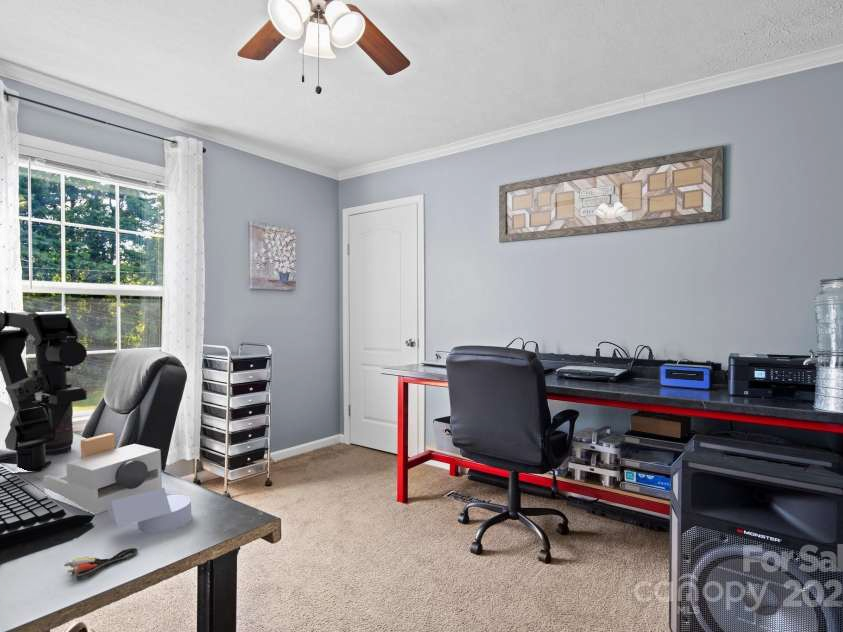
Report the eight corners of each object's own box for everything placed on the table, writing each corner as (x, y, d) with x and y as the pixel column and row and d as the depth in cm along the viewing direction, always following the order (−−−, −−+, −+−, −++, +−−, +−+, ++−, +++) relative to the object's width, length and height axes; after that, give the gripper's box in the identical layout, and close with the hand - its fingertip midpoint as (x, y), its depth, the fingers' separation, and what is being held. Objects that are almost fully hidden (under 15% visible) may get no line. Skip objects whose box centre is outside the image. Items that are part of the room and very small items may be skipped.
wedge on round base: (118, 547, 82) (197, 521, 90) (116, 508, 81) (196, 487, 90) (108, 528, 88) (183, 507, 97) (106, 493, 88) (182, 474, 97)
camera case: (44, 496, 104) (42, 455, 103) (111, 474, 116) (110, 438, 116) (100, 517, 93) (98, 471, 93) (167, 490, 105) (165, 450, 105)
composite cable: (136, 551, 81) (135, 537, 81) (141, 563, 77) (141, 548, 77) (64, 574, 74) (63, 558, 74) (66, 587, 71) (65, 571, 71)
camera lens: (54, 457, 129) (52, 403, 129) (30, 456, 131) (28, 402, 131) (81, 448, 137) (79, 397, 137) (58, 446, 139) (56, 396, 138)
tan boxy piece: (67, 485, 101) (65, 443, 101) (123, 467, 111) (122, 429, 111) (88, 492, 97) (86, 449, 97) (144, 473, 107) (142, 434, 107)
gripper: (-9, 366, 111) (-5, 432, 112) (29, 371, 102) (33, 442, 103) (47, 360, 121) (50, 421, 121) (86, 364, 112) (89, 429, 112)
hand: (54, 428), depth 114 cm, fingers closed
